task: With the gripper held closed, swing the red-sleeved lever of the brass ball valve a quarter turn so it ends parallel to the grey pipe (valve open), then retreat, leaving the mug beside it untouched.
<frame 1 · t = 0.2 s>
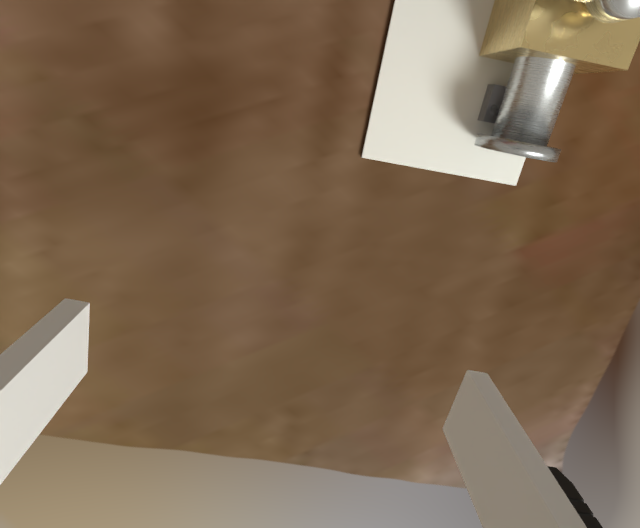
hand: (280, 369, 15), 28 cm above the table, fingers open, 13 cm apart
board: (480, 22, 36), on the table
valve: (537, 13, 36), resting on board
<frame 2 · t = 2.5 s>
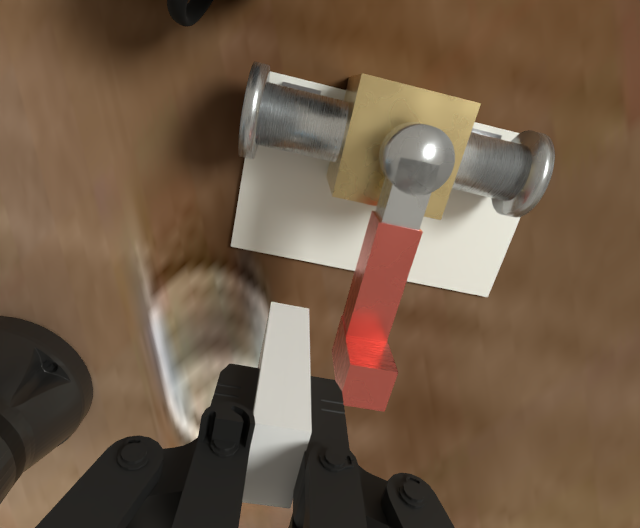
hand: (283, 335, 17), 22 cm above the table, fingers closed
board: (385, 194, 38), on the table
valve: (383, 139, 36), resting on board
lever: (390, 266, 27), point 13 cm above the table, hinge at -90.0°
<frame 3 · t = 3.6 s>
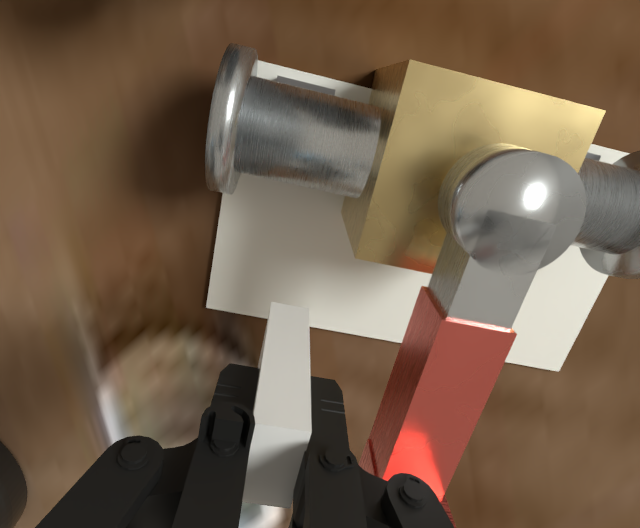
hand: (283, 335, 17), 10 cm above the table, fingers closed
board: (423, 236, 27), on the table
valve: (423, 159, 25), resting on board
lever: (458, 389, 16), point 13 cm above the table, hinge at -90.0°
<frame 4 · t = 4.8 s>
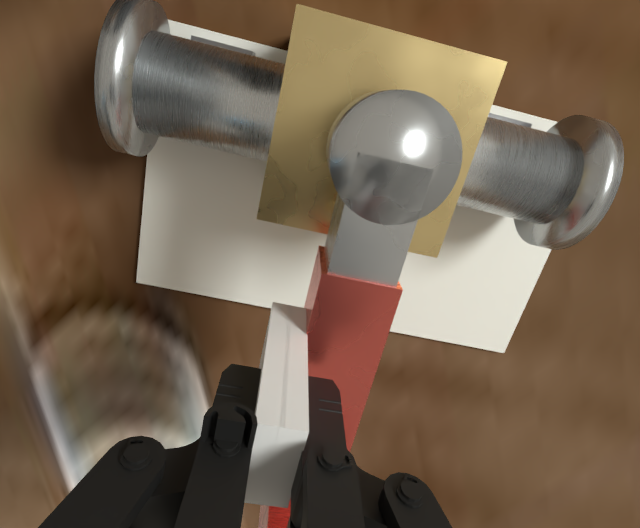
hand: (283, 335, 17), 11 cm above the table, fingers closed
board: (358, 210, 26), on the table
valve: (353, 129, 24), resting on board
lever: (345, 349, 15), point 13 cm above the table, hinge at -89.6°, touching gripper
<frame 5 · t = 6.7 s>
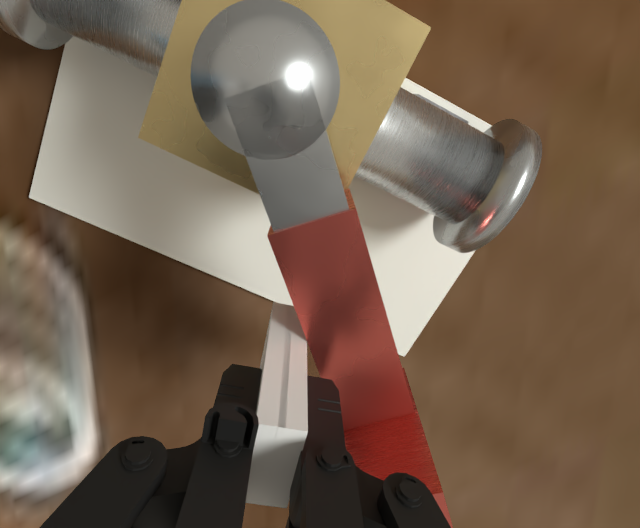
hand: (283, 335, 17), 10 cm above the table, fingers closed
board: (281, 174, 25), on the table
valve: (290, 85, 23), resting on board
lever: (335, 297, 14), point 13 cm above the table, hinge at -46.5°, touching gripper
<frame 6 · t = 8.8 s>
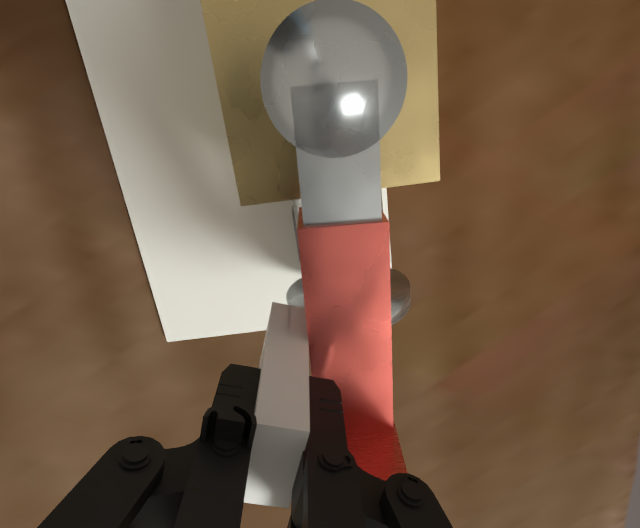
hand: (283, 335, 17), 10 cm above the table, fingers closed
board: (244, 128, 24), on the table
valve: (322, 88, 23), resting on board
lever: (348, 303, 14), point 13 cm above the table, hinge at -2.7°, touching gripper
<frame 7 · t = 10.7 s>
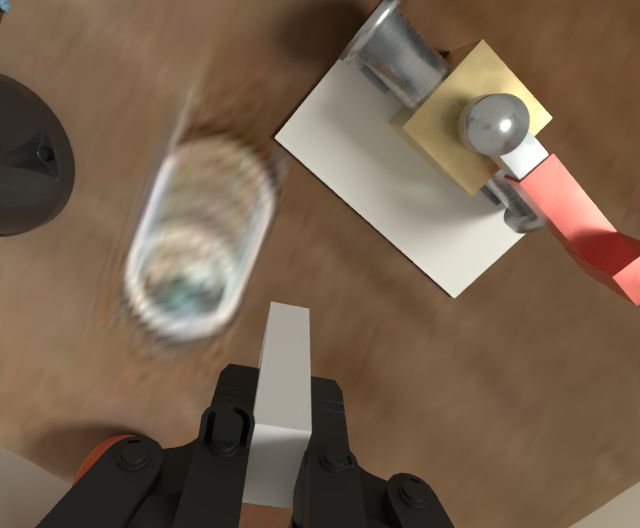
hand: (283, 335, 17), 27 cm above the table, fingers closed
board: (423, 166, 42), on the table
valve: (447, 118, 40), resting on board
apple: (140, 445, 54), on the table
lever: (559, 194, 30), point 13 cm above the table, hinge at -2.7°
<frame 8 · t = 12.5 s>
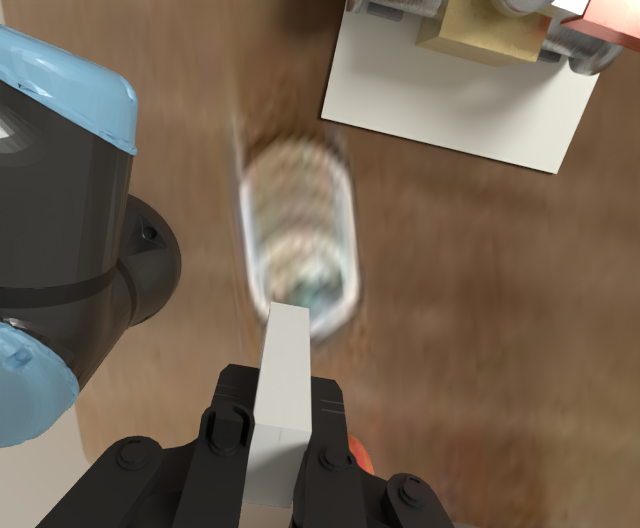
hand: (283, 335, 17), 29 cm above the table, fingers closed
board: (467, 66, 41), on the table
valve: (468, 9, 39), resting on board
apple: (334, 442, 58), on the table
lever: (629, 6, 28), point 13 cm above the table, hinge at -2.7°
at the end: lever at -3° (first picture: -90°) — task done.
